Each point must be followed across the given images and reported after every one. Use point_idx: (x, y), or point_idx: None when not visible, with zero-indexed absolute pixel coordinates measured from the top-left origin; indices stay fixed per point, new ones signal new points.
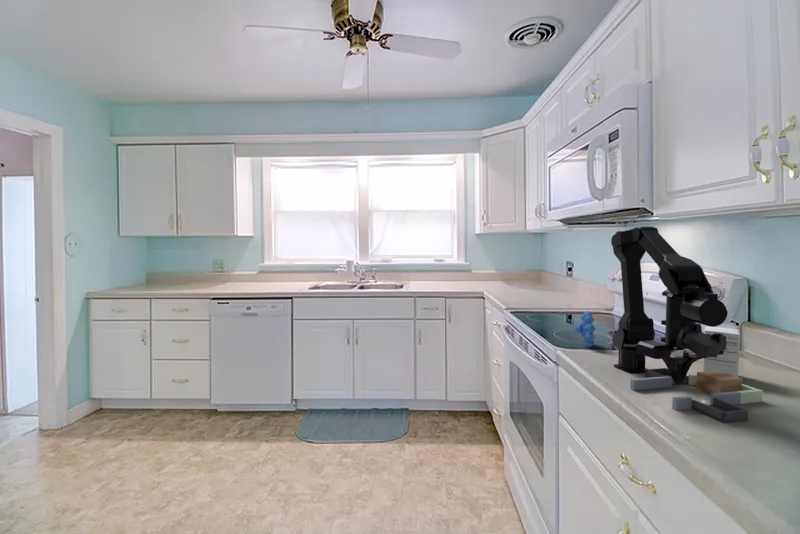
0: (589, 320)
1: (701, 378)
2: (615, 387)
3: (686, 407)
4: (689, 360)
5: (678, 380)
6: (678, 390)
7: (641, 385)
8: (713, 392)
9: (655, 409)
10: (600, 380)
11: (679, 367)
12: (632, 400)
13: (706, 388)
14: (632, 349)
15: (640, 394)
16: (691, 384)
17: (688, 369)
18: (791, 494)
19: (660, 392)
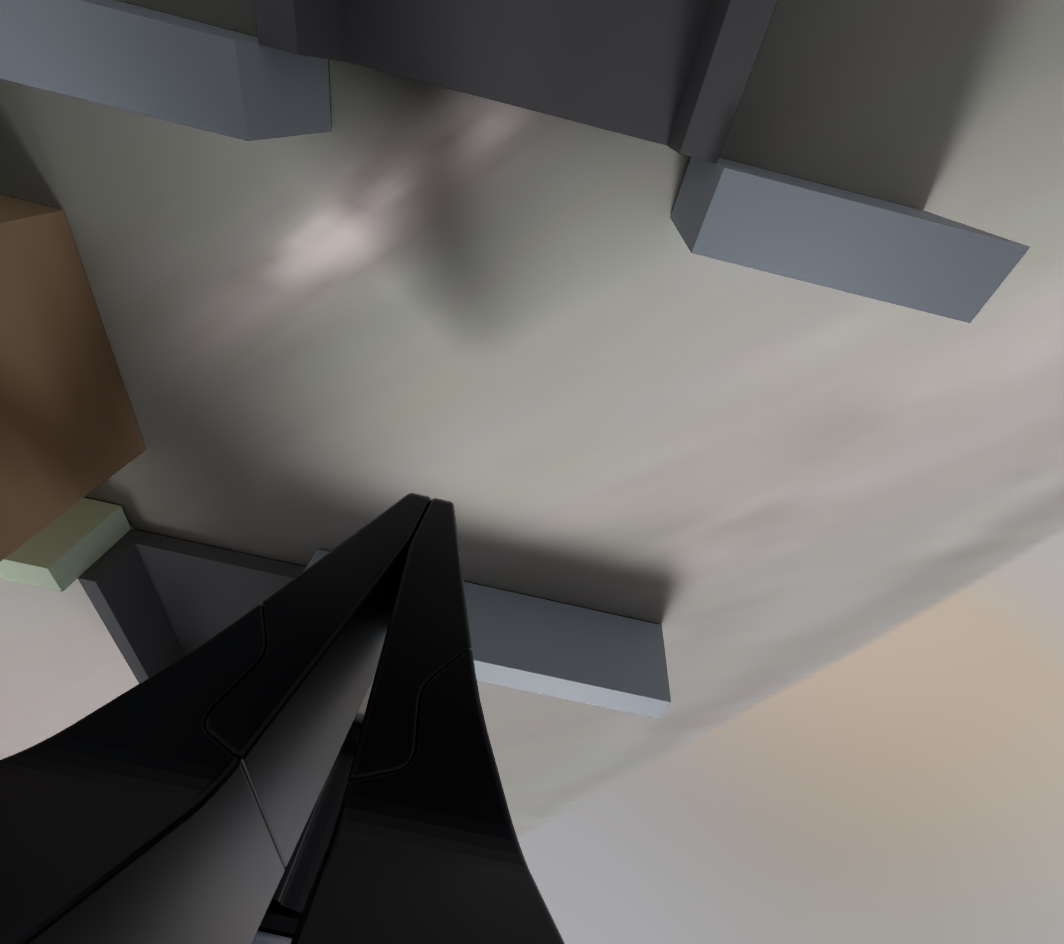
0: None
1: (15, 489)
2: (703, 686)
3: (783, 174)
4: (105, 899)
5: (457, 540)
6: (320, 498)
7: (594, 640)
8: (54, 302)
9: (1056, 345)
10: (654, 748)
11: (447, 736)
12: (915, 547)
13: (73, 385)
14: (272, 906)
15: (698, 576)
16: (117, 512)
17: (233, 631)
18: None
19: (505, 535)
